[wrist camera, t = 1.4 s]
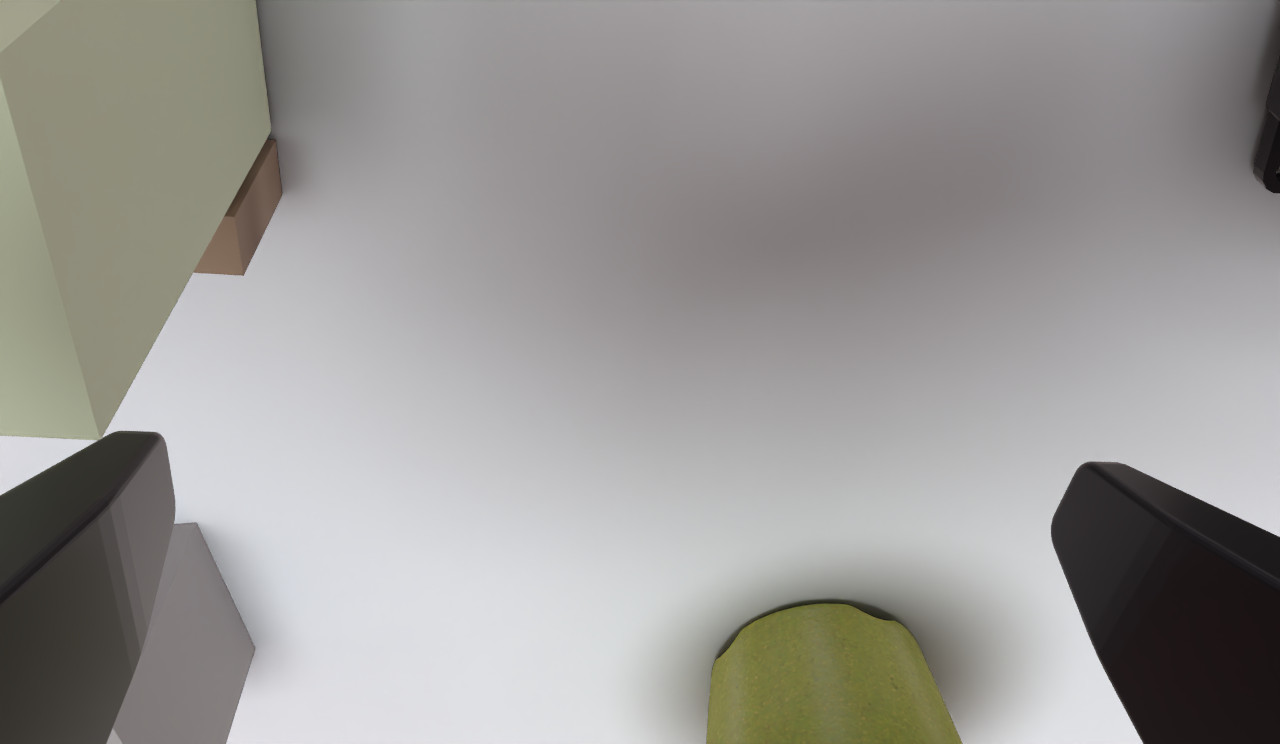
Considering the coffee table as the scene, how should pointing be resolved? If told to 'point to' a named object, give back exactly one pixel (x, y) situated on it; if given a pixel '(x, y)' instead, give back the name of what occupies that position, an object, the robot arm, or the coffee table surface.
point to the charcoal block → (187, 654)
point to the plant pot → (825, 683)
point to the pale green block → (111, 187)
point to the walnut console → (245, 217)
